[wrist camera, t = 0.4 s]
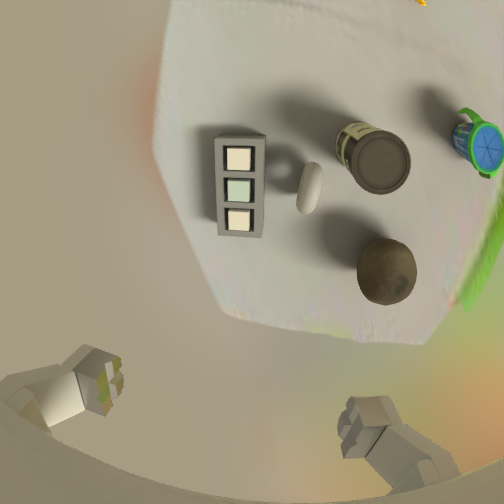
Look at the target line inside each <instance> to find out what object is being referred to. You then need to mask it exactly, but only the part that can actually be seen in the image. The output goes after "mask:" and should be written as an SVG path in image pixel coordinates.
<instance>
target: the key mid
mask: <svg viewBox="0 0 504 504" xmlns="http://www.w3.org/2000/svg"><path fill="white" fill-rule="evenodd" d="M249 200H250V179H244V178H229V180H228V201H242V202H249Z"/></svg>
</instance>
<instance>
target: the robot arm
mask: <svg viewBox="0 0 504 504" xmlns="http://www.w3.org/2000/svg"><path fill="white" fill-rule="evenodd" d="M121 366H122V364H121V358H119V357H118V356H116V355H113V354H111V353H108V352H105V351H102V350H100V349H97V348H94V347H92V346H89V345H87V344H84V345H82V346H81V347H80V348H78V349H77V350H76V351H75V352H74V353H73V354H72V355H71V356H70V357H69V358H68V359H67V360H66V361H65V362H63V364H61V365H59V364H55V365H51V366H47V367H42V368H38V369H33V370H29V371H25V372H20V373H15V374H11V375H7V376H6V377H5V378H4V379H3V380H2V381H0V504H504V457H502V458H500V459H498V460H496V461H493V462H491V463H489V464H487V465H485V466H482V467H480V468H478V469H475V470H473V471H471V472H468V473H465V474H463V475H461V473H460V471H459V469H458V467H457V465H456V463H455V461H454V459H453V457H452V456H451V453H450V452H448V451H447V450H445V449H443V448H442V447H440V446H439V445H437V444H436V443H434V442H433V441H431V440H429V439H428V438H427V437H425V436H423V435H422V434H421V433H419V432H418V431H416V430H414V429H413V428H411V427H410V426H409V425H407V424H404V425H403V423H402V420H401V418H400V416H399V414H398V412H397V410H396V408H395V406H394V404H393V402H392V400H391V398H390V397H389V396H376V397H375V396H371V397H370V396H369V397H368V396H367V397H366V396H365V397H364V396H359V397H358V396H351V397H350V398H349V399H348V401H347V403H346V407H347V409H346V410H345V411H343V412H342V413H341V415H340V417H339V421H338V436H339V437H340V438H341V439H342V440H343V442H342V443H341V449H342V454H343V459H346V458H347V459H350V458H365V460H366V461H367V462H368V463H369V464H370V465H371V466H372V467H373V468H374V469H375V470H376V471H377V472H378V473H379V474H380V475H381V476H382V477H383V479H384V480H386V481H387V482H388V484H389V485H391V487H392V488H393V489H392V490H391V491H390V492H389V493H388V494H387V495H386V496H381V497H375V498H368V499H361V500H352V501H341V502H328V503H274V502H261V501H260V502H259V501H249V500H241V499H233V498H227V497H220V496H214V495H209V494H203V493H199V492H194V491H190V490H186V489H181V488H177V487H174V486H170V485H166V484H163V483H159V482H156V481H153V480H150V479H147V478H143V477H140V476H138V475H135V474H132V473H129V472H127V471H124V470H121V469H119V468H116V467H114V466H111V465H109V464H107V463H104V462H102V461H100V460H97V459H95V458H93V457H91V456H89V455H87V454H85V453H83V452H81V451H79V450H77V449H75V448H73V447H71V446H69V445H67V444H65V443H64V442H62V441H60V440H58V439H56V438H55V437H53V435H52V433H51V431H50V430H49V427H50V426H52V425H54V424H57V423H59V422H61V421H63V420H65V419H67V418H69V417H72V416H74V415H76V414H78V413H80V412H82V411H84V410H85V409H87V410H90V411H92V412H95V413H97V414H99V415H102V416H106V415H107V413H108V412H109V410H110V409H111V407H112V405H113V404H112V400H113V399H116V398H118V397H119V395H120V394H121V391H122V388H123V382H124V379H123V374H122V373H121V372H120V370H119V369H120V368H121Z"/></svg>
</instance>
